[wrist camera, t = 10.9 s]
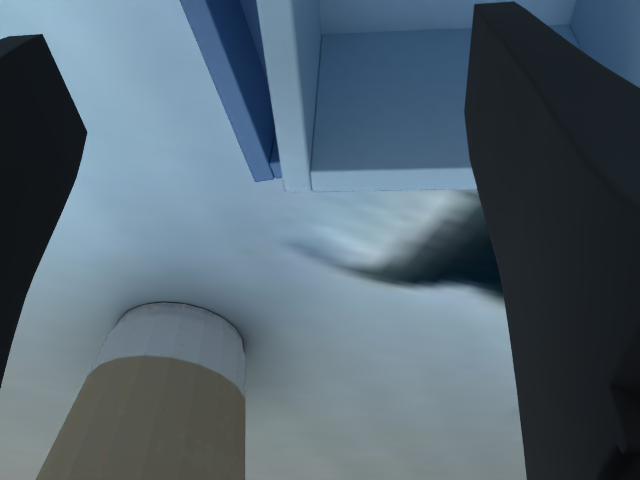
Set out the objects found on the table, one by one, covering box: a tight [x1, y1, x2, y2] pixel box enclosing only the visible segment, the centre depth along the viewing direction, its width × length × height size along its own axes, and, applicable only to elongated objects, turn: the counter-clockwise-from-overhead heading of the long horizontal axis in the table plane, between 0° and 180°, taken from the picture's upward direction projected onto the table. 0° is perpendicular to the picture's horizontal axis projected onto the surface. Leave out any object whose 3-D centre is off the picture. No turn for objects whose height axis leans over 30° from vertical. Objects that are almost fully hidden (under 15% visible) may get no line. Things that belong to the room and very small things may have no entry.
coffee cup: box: [36, 302, 246, 480], centre depth 29 cm, size 11×11×15 cm
